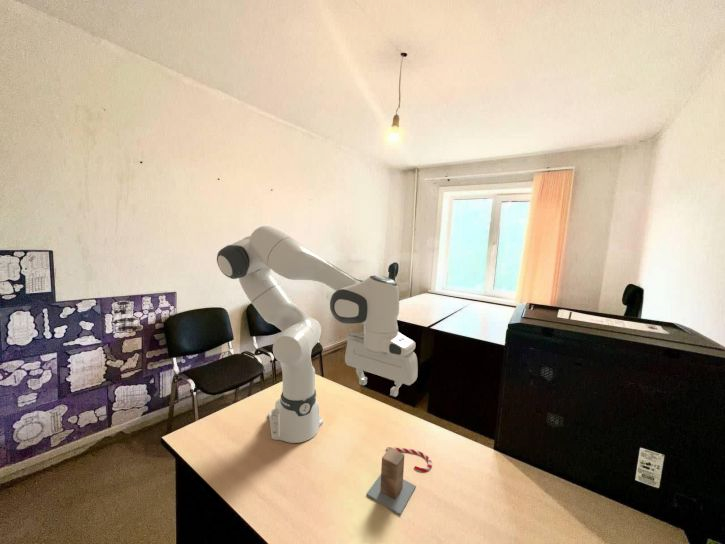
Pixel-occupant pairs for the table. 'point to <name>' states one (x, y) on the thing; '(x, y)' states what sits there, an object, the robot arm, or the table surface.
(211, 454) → the table surface
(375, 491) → the slate mat
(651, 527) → the table surface
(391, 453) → the walnut block
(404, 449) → the candy cane
